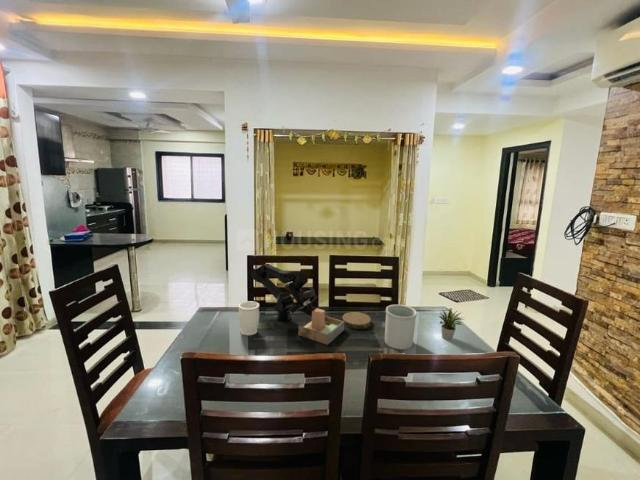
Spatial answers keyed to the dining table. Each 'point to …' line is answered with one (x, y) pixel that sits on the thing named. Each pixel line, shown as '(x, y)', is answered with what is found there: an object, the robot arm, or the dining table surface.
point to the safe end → (330, 332)
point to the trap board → (313, 329)
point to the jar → (248, 317)
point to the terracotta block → (318, 319)
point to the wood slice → (356, 320)
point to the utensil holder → (399, 326)
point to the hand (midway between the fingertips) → (313, 316)
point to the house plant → (449, 324)
